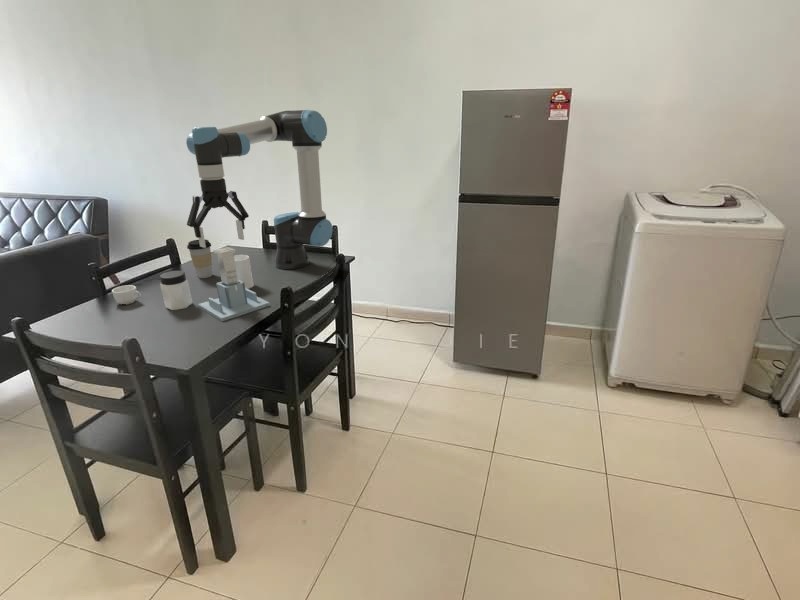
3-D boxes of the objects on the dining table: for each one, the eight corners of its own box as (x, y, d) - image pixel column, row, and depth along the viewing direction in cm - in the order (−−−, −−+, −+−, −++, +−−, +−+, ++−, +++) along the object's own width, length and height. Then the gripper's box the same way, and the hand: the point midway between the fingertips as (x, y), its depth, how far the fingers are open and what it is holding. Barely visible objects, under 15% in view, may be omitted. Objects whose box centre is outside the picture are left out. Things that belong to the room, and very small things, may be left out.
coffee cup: (206, 280, 188) (199, 245, 183) (188, 278, 191) (180, 243, 186) (221, 273, 197) (215, 239, 191) (203, 271, 200) (197, 238, 194)
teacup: (110, 306, 165) (106, 292, 163) (124, 298, 172) (121, 284, 170) (135, 307, 164) (132, 293, 161) (149, 298, 171) (145, 285, 169)
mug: (240, 294, 174) (235, 264, 169) (221, 291, 176) (216, 262, 171) (258, 283, 184) (254, 255, 179) (240, 281, 186) (236, 253, 182)
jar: (165, 311, 159) (157, 279, 154) (165, 303, 166) (158, 272, 161) (192, 307, 162) (186, 275, 158) (192, 299, 169) (185, 269, 165)
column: (236, 298, 165) (228, 246, 158) (243, 302, 162) (235, 249, 154) (223, 302, 162) (213, 250, 154) (230, 306, 158) (220, 252, 151)
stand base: (244, 293, 174) (241, 271, 171) (269, 305, 163) (266, 282, 159) (198, 307, 162) (193, 283, 159) (222, 321, 151) (217, 296, 147)
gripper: (242, 173, 156) (250, 234, 164) (167, 181, 139) (180, 248, 147) (253, 175, 151) (261, 237, 159) (177, 183, 134) (190, 252, 142)
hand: (222, 242), depth 153 cm, fingers open, 13 cm apart
